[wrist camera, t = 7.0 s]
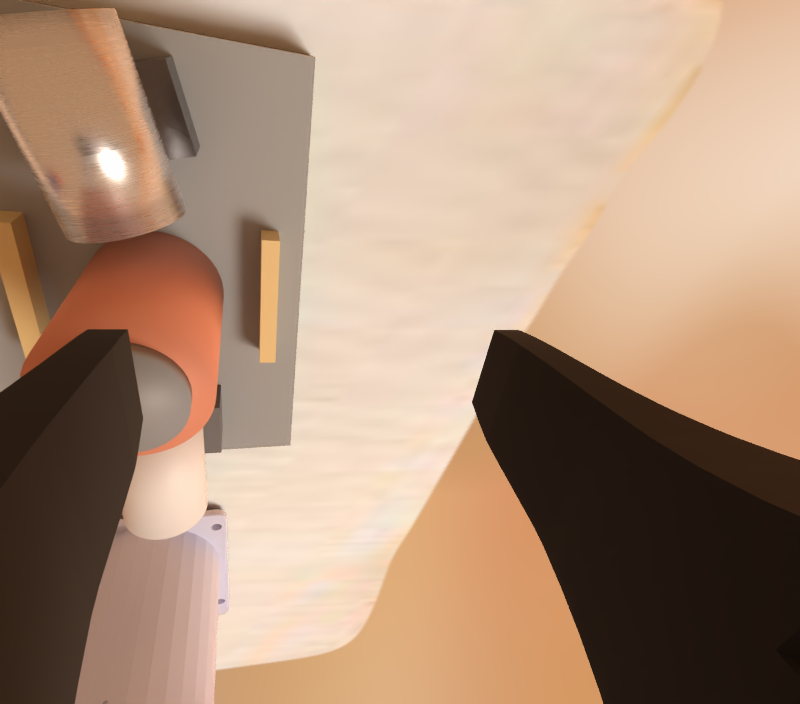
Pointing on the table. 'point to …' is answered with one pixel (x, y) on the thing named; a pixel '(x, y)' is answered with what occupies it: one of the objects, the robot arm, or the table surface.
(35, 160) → the shaft
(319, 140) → the table surface
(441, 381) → the table surface
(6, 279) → the bench
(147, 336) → the cylinder
